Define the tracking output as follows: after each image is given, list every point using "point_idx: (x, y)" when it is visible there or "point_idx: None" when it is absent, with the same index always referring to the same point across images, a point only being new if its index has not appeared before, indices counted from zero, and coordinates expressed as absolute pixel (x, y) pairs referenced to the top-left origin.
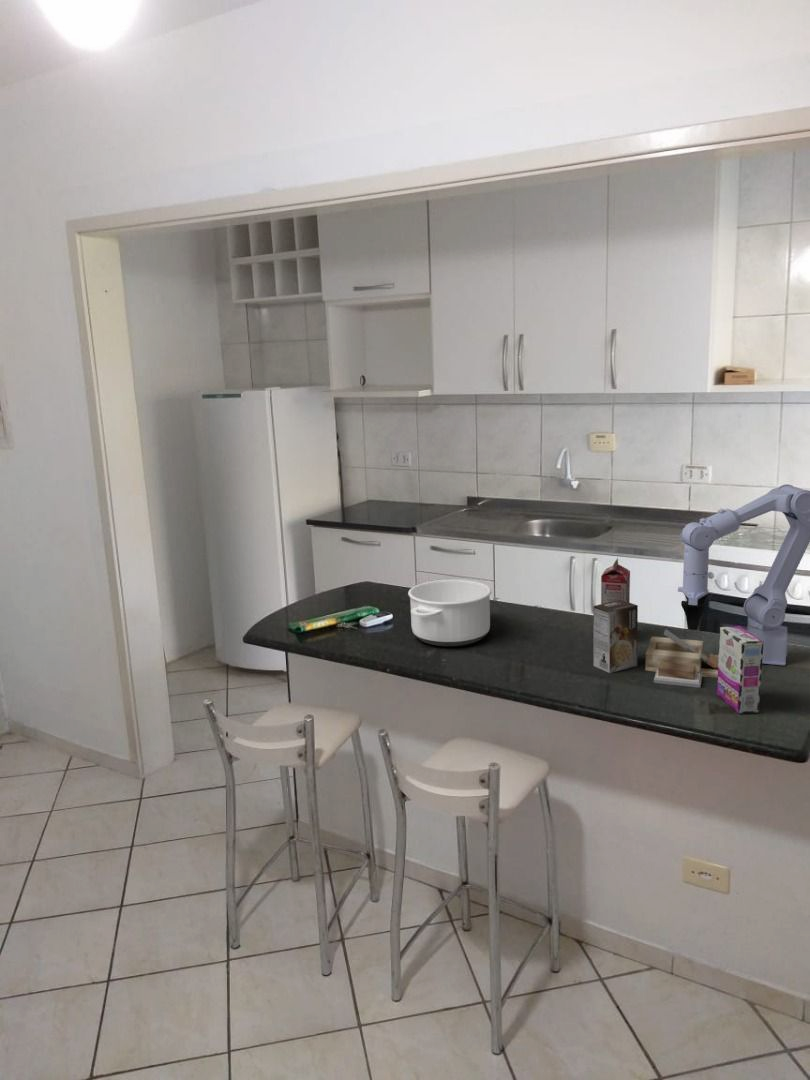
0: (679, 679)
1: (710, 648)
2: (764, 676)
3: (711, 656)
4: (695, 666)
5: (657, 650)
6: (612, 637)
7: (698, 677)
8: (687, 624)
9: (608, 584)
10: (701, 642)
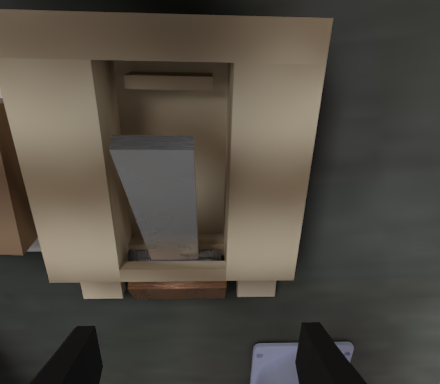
0: None
1: (378, 253)
2: (155, 381)
3: (192, 289)
4: (19, 254)
5: (76, 81)
6: None
7: None
8: (50, 358)
9: None
10: (272, 275)
